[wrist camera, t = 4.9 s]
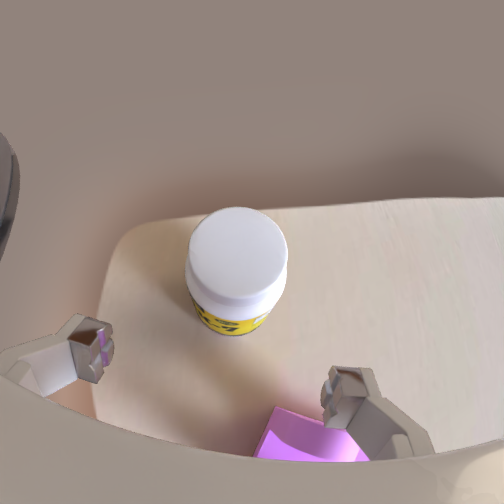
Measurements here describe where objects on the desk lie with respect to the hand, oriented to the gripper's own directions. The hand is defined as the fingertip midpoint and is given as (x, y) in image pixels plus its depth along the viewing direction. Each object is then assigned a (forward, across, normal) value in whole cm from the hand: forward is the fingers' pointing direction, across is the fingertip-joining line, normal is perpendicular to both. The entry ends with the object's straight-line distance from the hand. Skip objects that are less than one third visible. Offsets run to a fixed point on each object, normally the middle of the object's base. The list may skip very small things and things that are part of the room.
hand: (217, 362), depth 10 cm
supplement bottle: (+9, 0, +3) cm, 10 cm away
